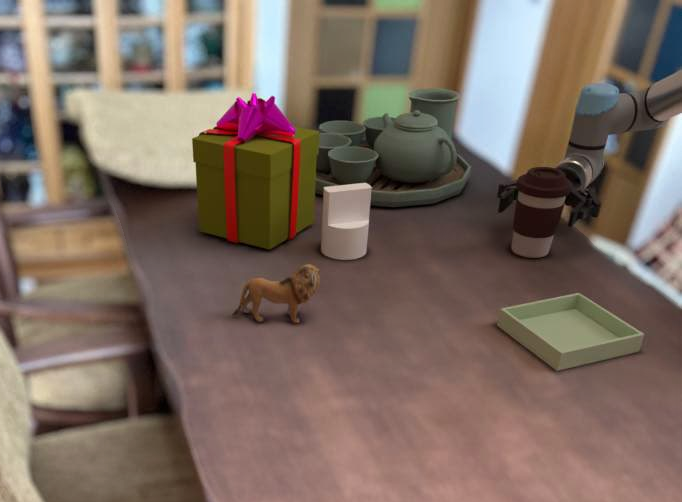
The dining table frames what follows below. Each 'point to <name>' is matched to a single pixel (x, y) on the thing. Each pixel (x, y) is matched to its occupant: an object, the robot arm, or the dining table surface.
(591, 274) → the dining table surface
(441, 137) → the tea set
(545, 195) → the coffee cup
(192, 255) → the dining table surface
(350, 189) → the cylinder with rectangular tab
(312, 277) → the lion figurine
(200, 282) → the dining table surface
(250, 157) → the gift box
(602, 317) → the tray
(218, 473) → the dining table surface
